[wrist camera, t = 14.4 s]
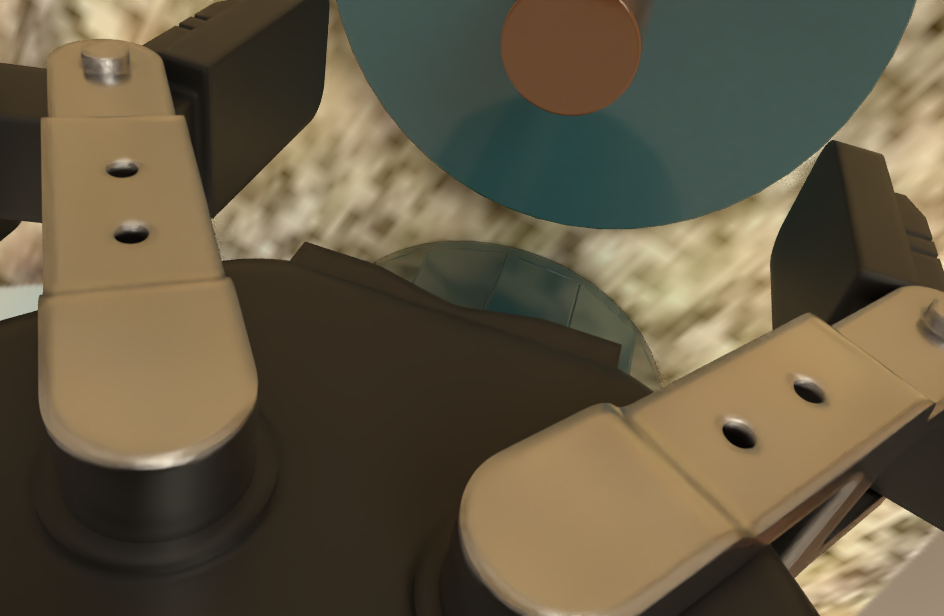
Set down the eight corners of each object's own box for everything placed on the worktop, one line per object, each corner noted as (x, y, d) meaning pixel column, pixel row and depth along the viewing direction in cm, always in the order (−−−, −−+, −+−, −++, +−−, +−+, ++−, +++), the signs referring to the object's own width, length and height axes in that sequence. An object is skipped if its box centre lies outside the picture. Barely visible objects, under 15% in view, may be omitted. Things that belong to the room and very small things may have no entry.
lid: (292, -363, 17) (135, -376, 12) (1013, -464, 13) (1146, -530, 9) (387, 196, 25) (312, 307, 20) (854, 221, 21) (884, 361, 17)
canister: (296, 228, 26) (14, 583, 16) (672, 253, 23) (621, 710, 13) (359, 474, 33) (192, 827, 23) (652, 517, 30) (609, 946, 20)
